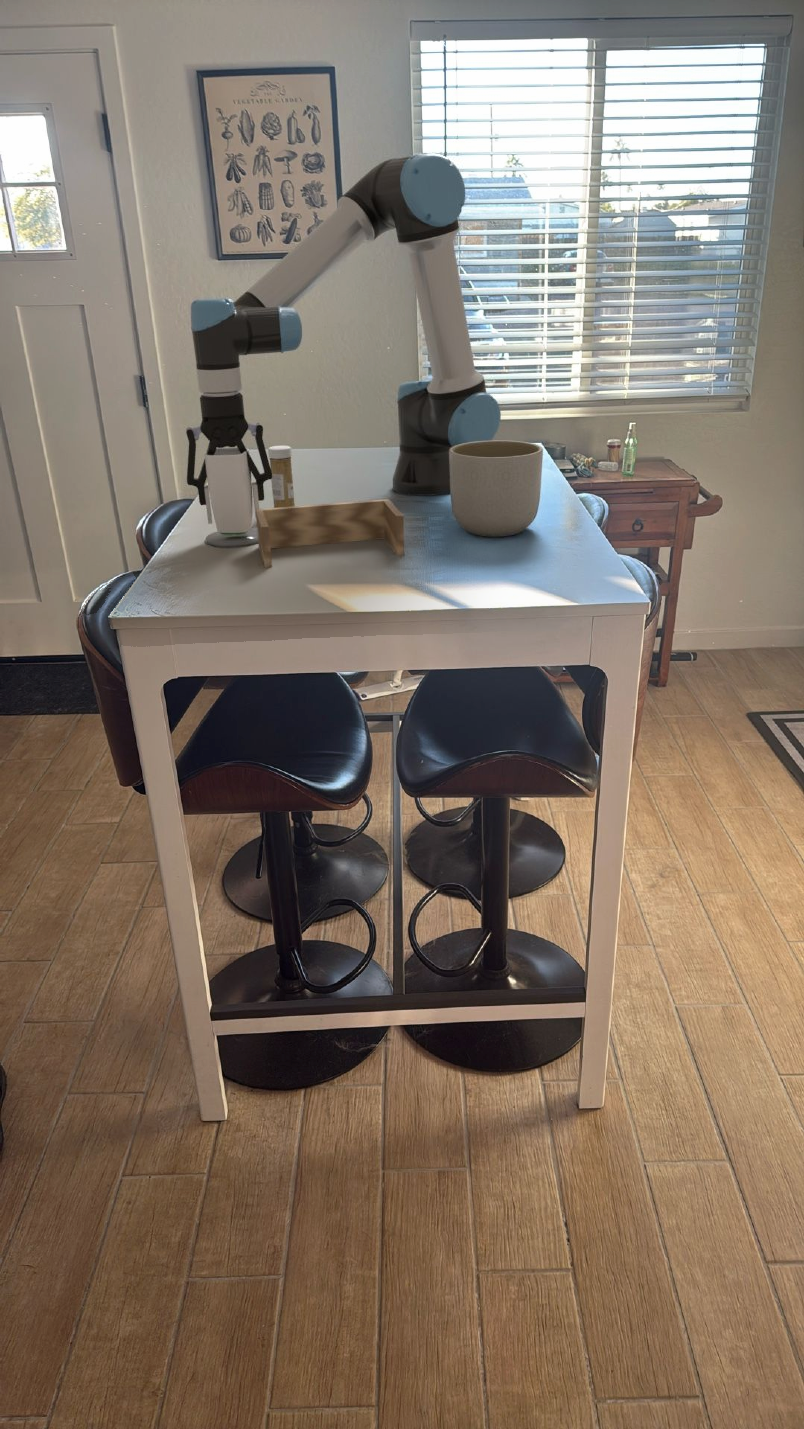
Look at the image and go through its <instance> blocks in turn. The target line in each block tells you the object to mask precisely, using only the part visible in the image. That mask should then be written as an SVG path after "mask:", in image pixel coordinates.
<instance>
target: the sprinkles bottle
mask: <svg viewBox="0 0 804 1429" xmlns="http://www.w3.org/2000/svg"><path fill="white" fill-rule="evenodd" d="M267 452H268V453H267V455H268V460H269V465H270V468H271V472H272V479H270V481H271V490H272V491H271V492H272V499H273V508H280V507H293V506H296V505H295V490H294V481H293V480H294V479H293V478H294V477H293V469H292V447H291V446H289V445H273V446H270V447H268V449H267Z"/></svg>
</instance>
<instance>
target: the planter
mask: <svg viewBox="0 0 804 1429" xmlns="http://www.w3.org/2000/svg"><path fill="white" fill-rule="evenodd" d="M543 456H544V448H543V447H542V446H541V445H539V444H536V443H533V442H527V441H519V440H505V439H504V440H503V439H502V440H501V439H500V440H499V439H498V440H494V439H492V441H477V442H469V443H463V444H459V445H455V446H453V447H451V448H450V449H449V469H450V493H449V494H450V504H451V511H452V514H453V517H454V519H455V521H456V522H457V524H458V525H459V526H460V527H461V528H462V529H464V530H465V531H466V532H468V533H469V534H472V535H476V536H480V537H488V538H490V537H491V538H492V537H493V538H498V537H499V538H500V537H508V536H514V535H517V534H520V533H522V532H523V531H524V530H526V529H527V528H528V527H529V526H530V525H531V524H533V522H534V521H535V520H536V517H537V515H538V511H539V508H540V498H541V489H542V477H543V476H542V473H543V460H544V459H543V458H544V457H543Z"/></svg>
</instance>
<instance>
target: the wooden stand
mask: <svg viewBox="0 0 804 1429" xmlns="http://www.w3.org/2000/svg"><path fill="white" fill-rule="evenodd" d="M255 510H256V517H255V520H256V530H257V532H258V543H257V544H258V549H259V552H260V556H261V559H262V562H263V566H264V568H272V567H273V564H272V562H273V561H272V553H271V552H272V551H271V550H272V549H278V548H288V547H302V546H311V545H312V546H314V545H324V544H325V545H326V544H336V543H350V542H361V541H372V540H383V539H384V540H385V541H386V542H387V544H388V545H389V546H390V547H391V549H392V550H393V551H394V552H395V554H396V556H398V557H400V556H405V526H404V515H403V514H402V512H400V510H399V509H398V508H397V507H396V506H395V504H394V503H393V502H392V501H391V500H390V499H389V498H386V499H373V500H361V501H360V500H359V501H348V502H335V503H333V502H332V503H320V504H308V505H307V504H306V505H295V506H293V507H280V508H274V507H269V508H259V509H254V511H255Z"/></svg>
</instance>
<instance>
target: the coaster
mask: <svg viewBox="0 0 804 1429" xmlns="http://www.w3.org/2000/svg"><path fill="white" fill-rule="evenodd" d="M205 542H206V544H207V545H209V546H210V547H211V546H212V547H216V548H239V547H240V548H242V547H248V546H253V545H256V544H259V543H258V532H257V529H255V528H250V530H249V531H248V532H247V533H245V534H236V535H223V534H220V533H219V532H218V531H214V532H212V533H209V534H207V535H206V537H205Z"/></svg>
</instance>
